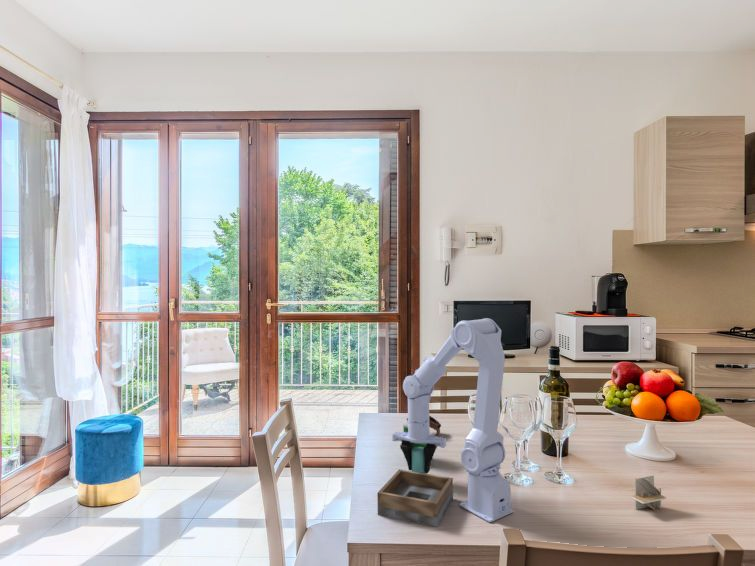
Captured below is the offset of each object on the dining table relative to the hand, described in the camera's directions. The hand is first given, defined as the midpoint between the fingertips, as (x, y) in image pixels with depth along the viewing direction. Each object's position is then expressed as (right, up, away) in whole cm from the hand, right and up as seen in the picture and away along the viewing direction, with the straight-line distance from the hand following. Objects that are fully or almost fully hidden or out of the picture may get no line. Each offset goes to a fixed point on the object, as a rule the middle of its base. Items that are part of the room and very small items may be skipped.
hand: (419, 470), depth 125 cm
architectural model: (+51, -3, -17) cm, 54 cm away
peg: (0, -2, 0) cm, 2 cm away
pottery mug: (+5, -2, +34) cm, 34 cm away
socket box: (-2, -3, -15) cm, 15 cm away
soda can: (0, -3, +14) cm, 14 cm away
